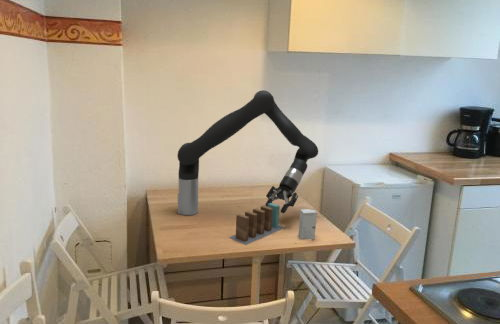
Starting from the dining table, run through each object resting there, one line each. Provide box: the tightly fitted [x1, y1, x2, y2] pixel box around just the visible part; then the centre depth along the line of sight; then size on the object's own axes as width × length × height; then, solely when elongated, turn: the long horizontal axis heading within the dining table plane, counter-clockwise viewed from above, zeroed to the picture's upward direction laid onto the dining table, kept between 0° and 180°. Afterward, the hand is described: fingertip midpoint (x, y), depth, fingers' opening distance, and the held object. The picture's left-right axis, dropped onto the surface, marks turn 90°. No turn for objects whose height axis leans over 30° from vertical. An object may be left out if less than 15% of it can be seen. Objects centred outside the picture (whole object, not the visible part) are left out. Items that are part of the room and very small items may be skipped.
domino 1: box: [235, 213, 249, 242], centre depth 172 cm, size 2×5×10 cm, turn 48°
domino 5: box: [268, 202, 281, 228], centre depth 186 cm, size 2×5×10 cm, turn 48°
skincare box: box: [297, 208, 318, 241], centre depth 176 cm, size 6×4×12 cm
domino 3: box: [252, 207, 265, 235], centre depth 179 cm, size 2×5×10 cm, turn 48°
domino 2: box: [244, 210, 257, 238], centre depth 175 cm, size 2×5×10 cm, turn 48°
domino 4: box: [259, 205, 272, 232], centre depth 183 cm, size 2×5×10 cm, turn 48°
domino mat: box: [228, 224, 286, 246], centre depth 180 cm, size 26×10×1 cm, turn 138°
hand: (274, 209), depth 186 cm, fingers open, 8 cm apart
